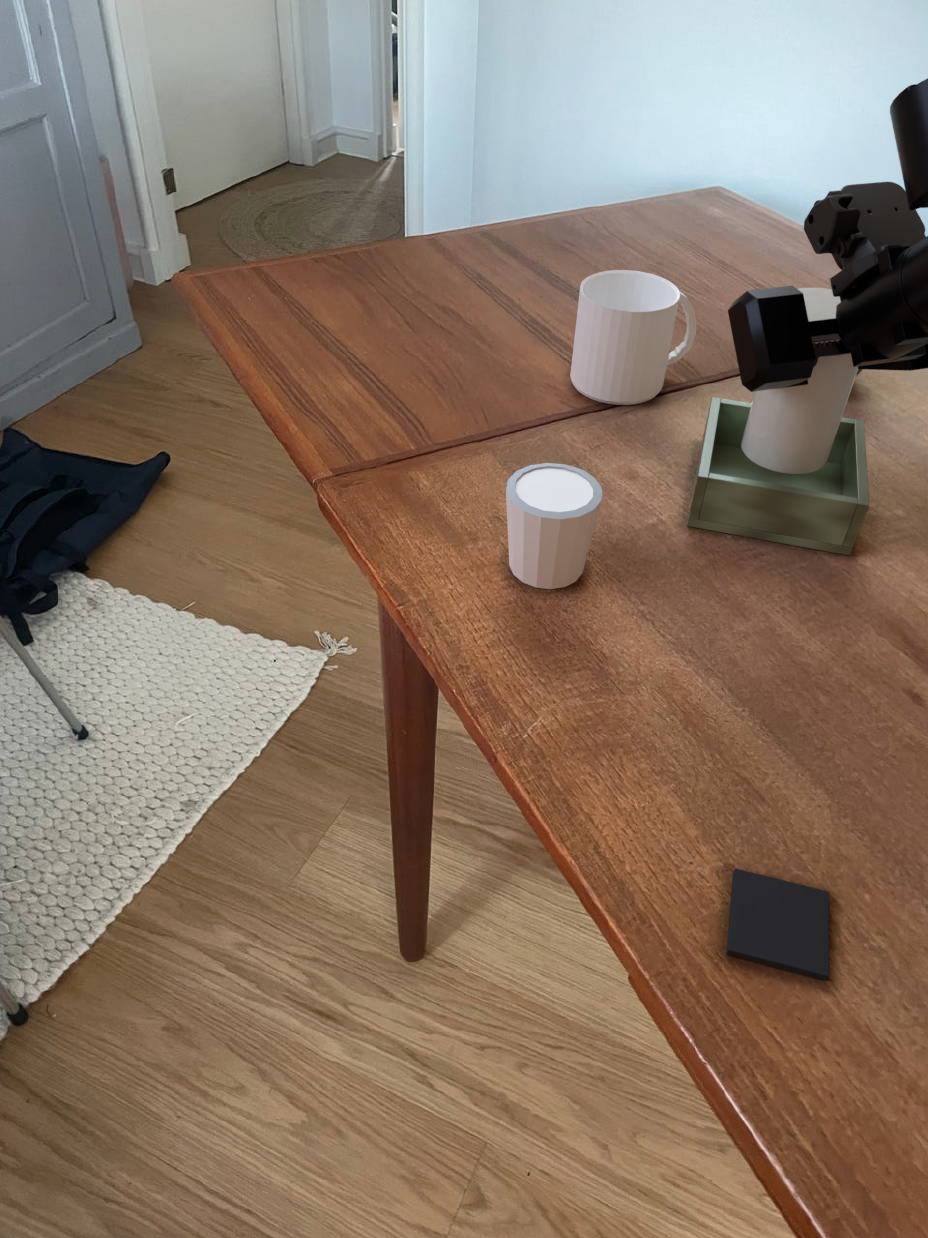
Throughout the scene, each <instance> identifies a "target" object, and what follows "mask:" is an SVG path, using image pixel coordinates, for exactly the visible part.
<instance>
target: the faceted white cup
mask: <svg viewBox="0 0 928 1238" xmlns="http://www.w3.org/2000/svg"><path fill="white" fill-rule="evenodd" d="M602 500H603V488H602V486H601V485H600V483H599V482H598V480H597V478H595V476H593V475H592V474H589V473H588V472H587V471H585V470H583V469H582V468H578V467H575V466H572V465H569V464H565V463H564V464H563V463H554V462H544V463H535V464H530V465H527V466H525V467H522V468H521V469H518V470H516V471H514V473H513V474H512V475H511V476H510V477H509V478H508V479H507V482H506V488H505V503H506V504H505V505H506V520H507V521H506V522H507V546H508V565H509V569H510V571H511V572H512V574H513V576H514V577H515V578H517V579H518V580H519V581H521V582H522V583H523V584H526V585H528V586H531V587H533V588H536V589H545V590H555V589H560V588H561V589H562V588H566V587H569V586H570V585H572V584H574V583H576V582H577V581H578V580H579V579H580V577H581V576H582V574H583V573H584V570H585V565H586V562H587V558H588V553H589V550H590V547H591V543H592V539H593V535H594V531H595V527H596V523H597V520H598V516H599V511H600V508H601V504H602Z"/></svg>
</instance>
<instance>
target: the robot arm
mask: <svg viewBox="0 0 928 1238" xmlns="http://www.w3.org/2000/svg"><path fill="white" fill-rule="evenodd" d="M889 115H890V119H891V124H892V131H893V136H894V139H895V145H896V150H897V155H898V161H899V164H900V171H901V175H902V180H903V186H904V187H902V185H900V184H899V183H896V182H894V181H878V182H867V183H866V182H865V183H854V184H847V185H843V187H841V188H840V190H829V191H828V193H827V194H826V196H825V197H824V198H823V199H819V200H815V202H814V203H813V205H812V207H811V209H810V211H809V212H808V214H807V215H806V217H805V219H804V221H803V231H804V233H805V235H806V237H807V239H808V241H809V243H810V245H811V248H812V250H813V252H814V253H815V254H816V255H825V254H830V255H831V256H832V258H833V260H834V262H835V264H836V265H837V267H838V268H839V270H840V271H839V272H837V273H836V274H834V275H832V276H831V277H830V278H829V281H830V287H831V289H832V292H833V296H834V297H838V296H840V300H841V302H840V303H839V304H837V306H836V318H834V319H826V320H817V321H808V316H807V311H806V306H805V300H804V295H803V293H802V292H800V291H799V290H798V288H797V287H796V286H794V285H785V286H777V287H776V286H775V287H768V288H767V287H766V288H757V289H750V290H746V291H745V292H743V293H742V294H741V295H740V296H739V297H737V298H736V299H735V300H734V301H733V302H732V303H731V304H730V306H729V308H728V309H727V315H728V320H729V324H730V330H731V335H732V340H733V345H734V351H735V356H736V361H737V366H738V371H739V377H740V381H741V385H742V386H743V387H744V388H745V389H746V390H748V391H749V392H751V393H752V392H753V393H754V391H761V390H768V389H779V388H787V387H794V386H801V385H807V384H808V379H809V378H810V377H811V374H812V371H813V368H814V367H815V366H816V364H817V361H818V359H820V358H828V357H835V356H843V355H851V357H852V362H853V367H857V366H859V368H858V369H863V370H869V371H871V370H872V371H903V372H905V371H907V372H908V371H909V372H910V371H917V370H918V371H919V370H924V369H925V370H926V369H928V235H927V236H926V234H925V233H926V226H925V224H924V222H923V220H922V219H921V217H920V215H919V213H918V211H917V210H918V209H928V77H927V78H925V79H923V80H922V81H920V82H918V83H915V84H910V85H908V86H907V87H905V88H904V89H903V90H902V91H900V93H898V95H896V96H895V98H894V99H893V100H892V101H891V104H890V106H889ZM839 339H841V340H839ZM831 340H834V341H833V342H831ZM836 340H838V341H836ZM823 341H829V342H827V343H826V342H823ZM815 342H819V343H817V344H816V343H815ZM821 342H823V343H822V344H821Z"/></svg>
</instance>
